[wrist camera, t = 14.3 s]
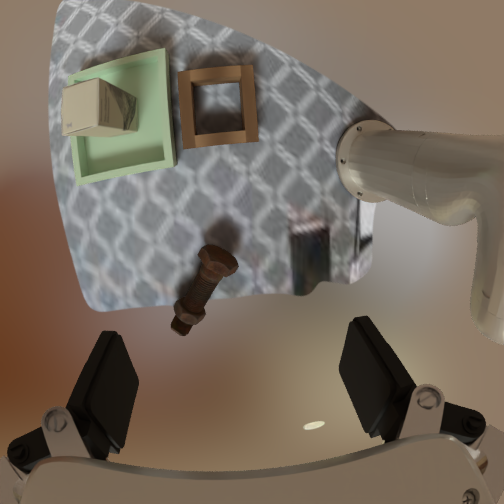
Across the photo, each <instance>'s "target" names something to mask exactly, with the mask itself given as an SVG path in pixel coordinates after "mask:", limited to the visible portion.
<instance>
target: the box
mask: <svg viewBox="0 0 504 504" xmlns="http://www.w3.org/2000/svg"><path fill="white" fill-rule="evenodd" d="M61 125H62V136H92V137H115V136H120V135H126V134H131V133H135V132H137V131H138V108H137V97H135V96H133V95H131V94H129V93H127V92H126V91H124V90H122V89H120V88H118V87H116V86H114V85H112V84H111V83H109V82H107V81H105V80H103V79H101V78H99V77H96V78H93V79H89V80H85V81H81V82H78V83H75V84H72V85H69V86H66V87H64V88H63V90H62V104H61Z"/></svg>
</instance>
